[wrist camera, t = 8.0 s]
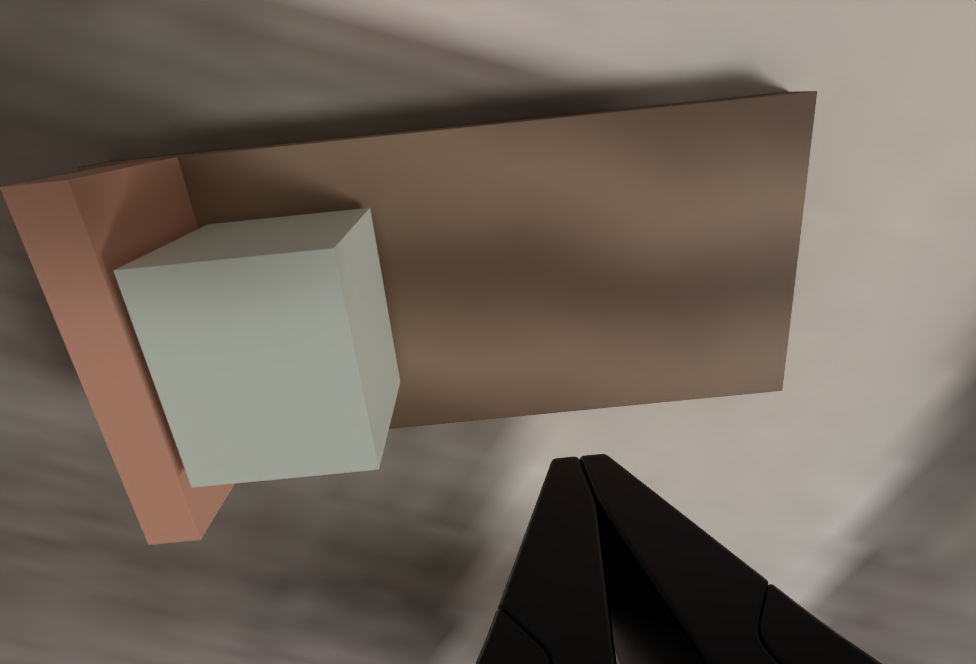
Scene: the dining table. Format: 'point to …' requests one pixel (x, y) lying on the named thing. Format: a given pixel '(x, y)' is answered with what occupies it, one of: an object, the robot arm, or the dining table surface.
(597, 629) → the robot arm
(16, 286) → the dining table surface
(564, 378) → the brown boxy piece
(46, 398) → the dining table surface
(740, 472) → the dining table surface
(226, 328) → the pale sage green cube
